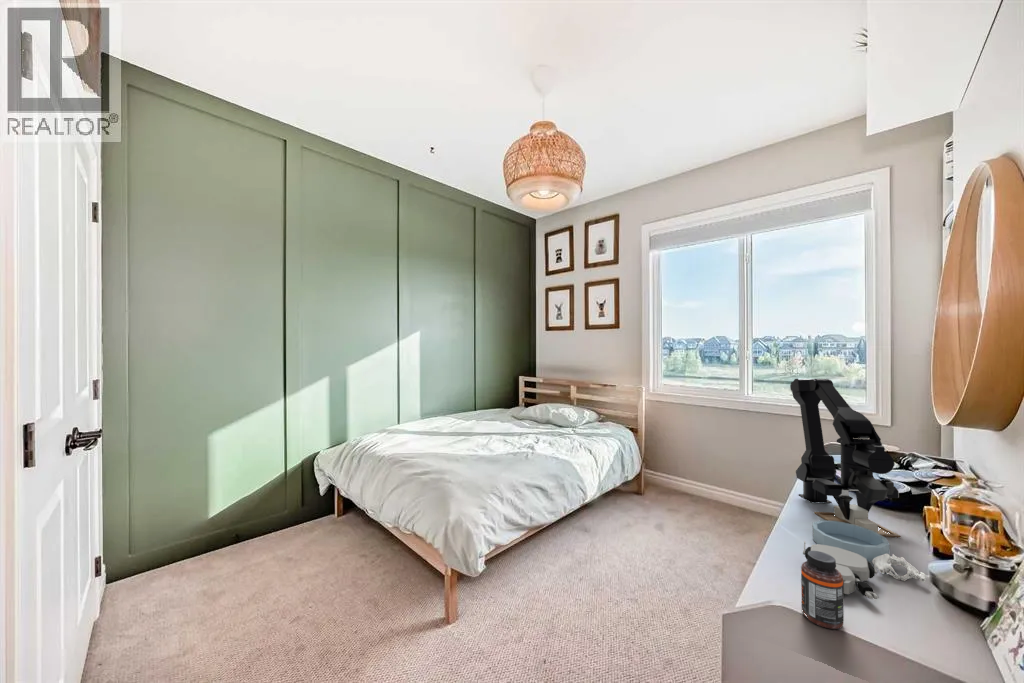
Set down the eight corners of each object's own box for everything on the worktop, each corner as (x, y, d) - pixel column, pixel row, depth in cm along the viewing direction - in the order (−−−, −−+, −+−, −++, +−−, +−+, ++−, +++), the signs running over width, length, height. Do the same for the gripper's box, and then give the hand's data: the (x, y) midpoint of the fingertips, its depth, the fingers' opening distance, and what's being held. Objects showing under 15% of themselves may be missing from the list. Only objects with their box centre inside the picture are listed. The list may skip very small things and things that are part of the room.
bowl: (800, 533, 104) (800, 519, 104) (856, 535, 103) (856, 521, 103) (840, 561, 90) (839, 545, 90) (905, 564, 89) (905, 548, 89)
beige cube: (841, 518, 111) (841, 503, 111) (855, 518, 111) (855, 504, 111) (854, 525, 106) (853, 510, 107) (868, 525, 106) (868, 510, 106)
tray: (814, 514, 116) (814, 511, 116) (857, 516, 115) (857, 513, 115) (851, 536, 102) (851, 533, 102) (900, 539, 101) (900, 535, 101)
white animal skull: (875, 560, 84) (869, 545, 89) (875, 579, 84) (869, 563, 89) (929, 572, 79) (918, 555, 85) (929, 592, 80) (918, 574, 85)
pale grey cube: (854, 529, 106) (854, 518, 106) (868, 529, 105) (868, 519, 106) (863, 534, 103) (863, 523, 103) (877, 534, 102) (877, 524, 103)
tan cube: (834, 515, 115) (834, 505, 115) (845, 515, 114) (845, 506, 114) (842, 519, 112) (842, 509, 112) (854, 520, 111) (854, 510, 111)
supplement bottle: (802, 604, 75) (802, 544, 75) (843, 617, 71) (842, 554, 71) (800, 620, 70) (799, 556, 70) (844, 636, 66) (843, 568, 67)
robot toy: (882, 616, 73) (875, 574, 85) (881, 592, 73) (875, 554, 84) (800, 590, 81) (804, 555, 92) (800, 568, 81) (804, 536, 92)
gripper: (840, 470, 102) (840, 531, 101) (918, 473, 100) (918, 534, 100) (811, 458, 113) (811, 513, 112) (880, 460, 111) (881, 516, 111)
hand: (854, 519), depth 109 cm, fingers closed on beige cube, 4 cm apart
